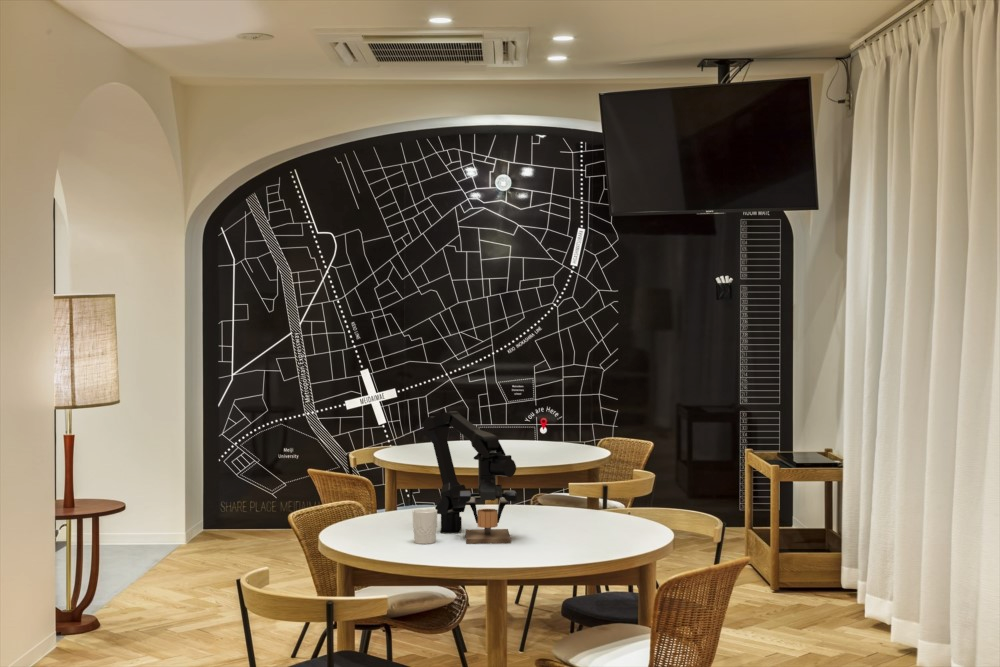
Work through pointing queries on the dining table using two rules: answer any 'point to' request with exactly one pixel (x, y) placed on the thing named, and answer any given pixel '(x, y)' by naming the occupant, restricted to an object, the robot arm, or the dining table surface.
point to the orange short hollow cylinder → (487, 518)
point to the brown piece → (487, 536)
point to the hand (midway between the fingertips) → (487, 522)
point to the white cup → (425, 525)
